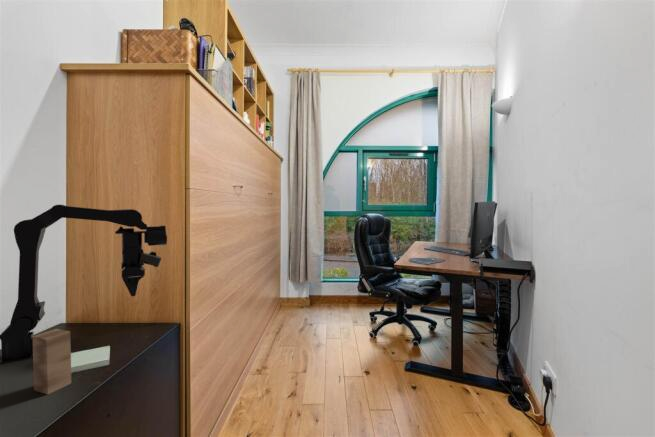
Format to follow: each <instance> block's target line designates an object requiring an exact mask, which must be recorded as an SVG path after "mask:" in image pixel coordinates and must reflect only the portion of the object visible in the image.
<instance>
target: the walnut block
mask: <svg viewBox="0 0 655 437" xmlns="http://www.w3.org/2000/svg"><path fill="white" fill-rule="evenodd" d="M71 346H72V345H71V330H65V329H59V328H54V329H51V330H48V331H46V332H45V331H44V332H41V333H39V334H36V335H34V336H33V355H32V364H33V365H32V366H33V371H32V372H33V391H35V392H39V393H41V394H45V395H50V394H51V393H52V394H53V393H54V392H57V391H58V390H61V389H62V388H64V387H66V386H68V385H71V384H72V373H71V353H72V351H71V350H72V349H71Z"/></svg>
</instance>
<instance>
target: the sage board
mask: <svg viewBox="0 0 655 437" xmlns="http://www.w3.org/2000/svg"><path fill="white" fill-rule="evenodd" d="M110 354H111V346H110V345H107V346H101V347H96V348H92V349H91V348H90V349H85V350H80V351H75V352H71V374H73V373H78V372H82V371H87V370H91V369H95V368H96V369H97V368H100V367H105V366H108V365H109V366H110Z"/></svg>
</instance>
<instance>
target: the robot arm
mask: <svg viewBox="0 0 655 437" xmlns="http://www.w3.org/2000/svg"><path fill="white" fill-rule="evenodd" d="M63 218H64V219H75V220H85V221H86V220H87V221H100V222H109V223H113V224H116V225H120V226H119V228H118V229H116V230H115V231H114V234H115V235H121V246H122V247H121V252H122V253H121V259H122V260H121V279H122V280H123V283H124V285H125V286H126V288H127V290H128V292H129V294H130V296H131V297H135V296H136V294H137V290H138V286H139V282H140V280H141V279H142V278H144V277H145V276H146V273H145V271H146V268H145V267H144V266H145V265H149V266H153V267H155V268H159V265H160V263H161V261H162V257H161V256H159V255H157V252H156V251H150V252H149V253H145V252H144V249H143V242H144V244H147V246H148V247H150V246H151V247H153V246H166V245H167V244H168V243H167V242H168V235H167V230H166V229H167V228H166V225H157V226H156V225H155V226H154V225H153V226H150V225H149V226H148V224H147V223H145V222H144V221H143V216H142V214H141V212H139V211H138V210H136V209H135V208H134V209H133V208H127V209H126V208H125V209H101V208H90V207H89V208H88V207H81V206H70V205H69V206H68V205H64V204H55V205H52V206H51V207H50V208H49V209H48V210H46V211H44V212H42V213H40V214H38V215H37V216H35V217H34V218H31V219H30V218H29V219H24V220H21V221H19V222H18V223H16V224H15V225H14V227H13V233H14V239H15V243H16V245H17V248H18V251H19V260H18V262H19V263H18V264H19V265H18V284H17V285H18V288H17V289H18V292H17V302H16V304H15V307H14V309H13V312H12V316H11V318H10V323H9V325H8V326H7V327H6V328H4V330H3V331H2V332H1V333H0V344H1V345H0V348H1V359H0V364H7V363H11V362H17V361H22V360H27V359H30V358H33V336H35V335H34V331H33V330H34V329H35V328H36V327H37V325H38V324H39V322H40V321H41V320H42V319H43V318H44V317H45V315H46V312H45V304H46V301H44V300H43V301H40V300H39V298H38V286H39V284H38V282H39V280H38V279H39V260H40V257H39V255H40V250H41V249H40V248H41V246H42V244H43V241H44V240H43V239H44V237H45V233H46V229H47V228H49V227H50V226H52V225H54V224H55V223H56V222H58V221H59V220H61V219H63ZM123 226H125V227H126V228H124V227H123ZM134 227H135V228H137V229H139V230H135V228H134Z"/></svg>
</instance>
